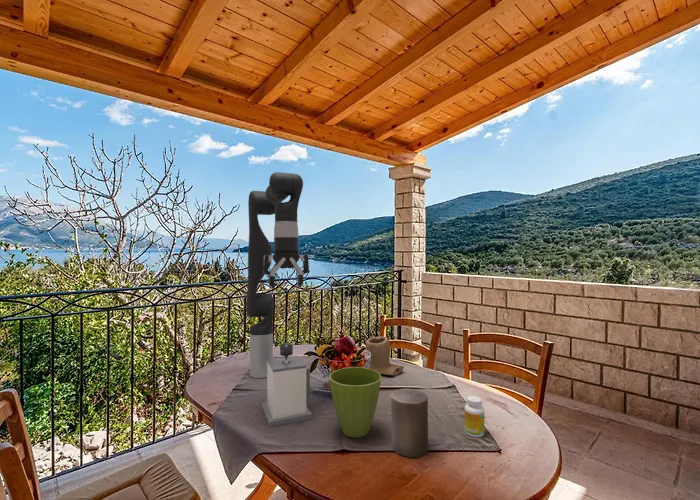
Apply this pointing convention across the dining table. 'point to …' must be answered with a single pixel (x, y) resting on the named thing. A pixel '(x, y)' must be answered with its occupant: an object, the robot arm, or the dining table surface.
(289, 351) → the plunger
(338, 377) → the flower pot
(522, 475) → the dining table surface
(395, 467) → the dining table surface
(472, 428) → the supplement bottle
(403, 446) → the pillar candle
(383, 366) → the tan boot
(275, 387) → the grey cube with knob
